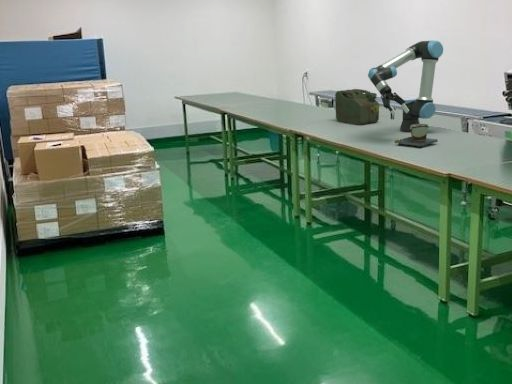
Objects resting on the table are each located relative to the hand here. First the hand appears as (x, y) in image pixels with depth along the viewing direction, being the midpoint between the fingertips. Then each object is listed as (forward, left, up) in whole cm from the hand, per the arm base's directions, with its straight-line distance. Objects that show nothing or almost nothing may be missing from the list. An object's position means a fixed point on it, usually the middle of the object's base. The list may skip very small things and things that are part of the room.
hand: (401, 113), depth 352 cm
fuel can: (-54, -88, -20) cm, 105 cm away
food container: (0, +12, -17) cm, 21 cm away
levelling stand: (0, +12, -20) cm, 23 cm away
